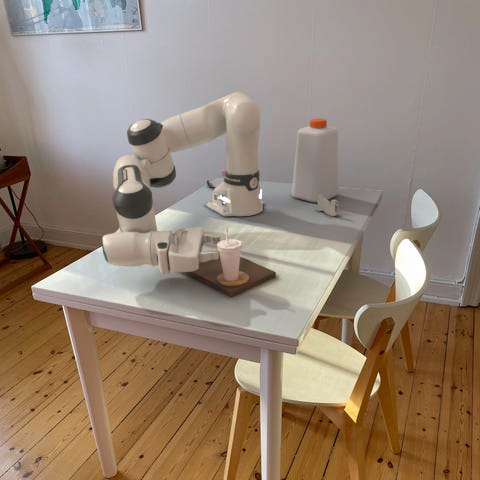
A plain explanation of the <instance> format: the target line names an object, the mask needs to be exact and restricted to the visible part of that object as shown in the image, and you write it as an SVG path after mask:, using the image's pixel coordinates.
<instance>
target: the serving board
mask: <svg viewBox="0 0 480 480" xmlns="http://www.w3.org/2000/svg"><path fill="white" fill-rule="evenodd" d="M217 251H218V252H219V250H217ZM184 273H186V274H187V275H189V276H191V277H193V278H195V279H197V280H198V281H201V282H202V283H204V284H206V285H208V286H209V287H212V288H214V289H215V290H217V291H219V292H221V293H223V294H225V295H227V296H229V297H231V298H232V297H234V296H236V295H239V294H241V293H243V292H246V291H247V290H250V289H252V288H255V287H257V286H259V285H261V284H263V283H265V282H268V281H271V280H273V279H275V278H276V277H277V272H276V271H274V270H272V269H270V268H268V267H265V266H263V265H261V264H259V263H256V262H254V261H252V260H250V259H247V258H245V257H243V256H241V255H240V264H239V274H238V279H237V280H234V281H227V280H225V279H224V274H223V269H222V264H221V258H220V253H219V258H218V259H214V260H209V261H206V262H200V264H199V269H197V270H195V271H191V272H184Z"/></svg>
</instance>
